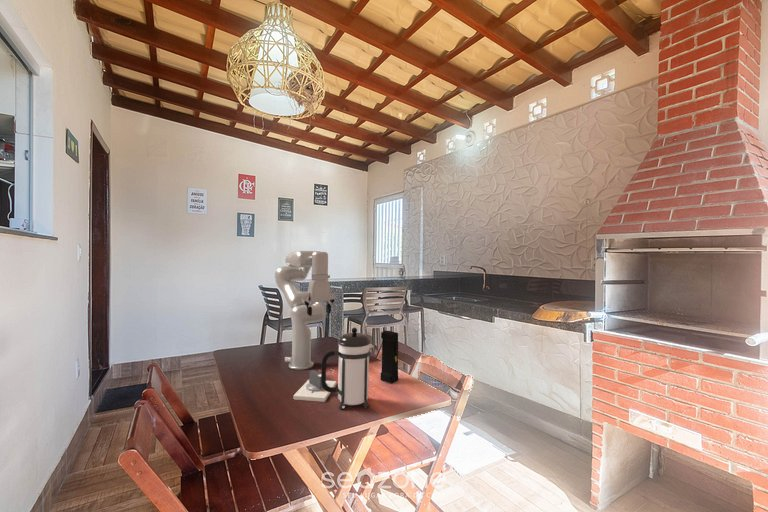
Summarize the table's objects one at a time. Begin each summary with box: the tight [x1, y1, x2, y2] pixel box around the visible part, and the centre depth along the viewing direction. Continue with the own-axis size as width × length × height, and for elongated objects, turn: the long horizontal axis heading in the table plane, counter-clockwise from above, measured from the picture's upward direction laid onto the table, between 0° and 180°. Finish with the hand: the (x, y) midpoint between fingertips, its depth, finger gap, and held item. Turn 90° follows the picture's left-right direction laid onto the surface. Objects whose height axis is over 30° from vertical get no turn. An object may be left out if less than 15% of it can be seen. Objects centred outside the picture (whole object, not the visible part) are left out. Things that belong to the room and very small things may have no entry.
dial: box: [306, 369, 327, 391], centre depth 146 cm, size 9×9×6 cm
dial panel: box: [292, 379, 337, 403], centre depth 145 cm, size 13×18×2 cm
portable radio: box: [380, 325, 399, 384], centre depth 159 cm, size 8×6×25 cm
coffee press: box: [320, 327, 374, 411], centre depth 134 cm, size 17×16×30 cm
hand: (319, 314), depth 160 cm, fingers open, 9 cm apart
